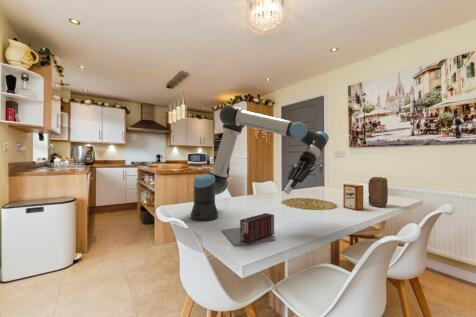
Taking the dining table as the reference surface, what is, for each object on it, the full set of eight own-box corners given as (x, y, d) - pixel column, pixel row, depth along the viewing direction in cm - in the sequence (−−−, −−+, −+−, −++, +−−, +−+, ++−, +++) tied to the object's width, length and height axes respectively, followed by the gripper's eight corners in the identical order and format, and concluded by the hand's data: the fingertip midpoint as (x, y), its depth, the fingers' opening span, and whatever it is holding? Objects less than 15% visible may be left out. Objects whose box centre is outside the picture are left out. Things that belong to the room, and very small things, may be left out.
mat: (221, 231, 98) (221, 229, 98) (255, 227, 104) (255, 225, 104) (234, 246, 81) (234, 244, 81) (274, 240, 87) (274, 239, 87)
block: (388, 207, 146) (389, 177, 146) (380, 208, 143) (381, 178, 143) (374, 204, 156) (374, 176, 156) (366, 204, 154) (366, 176, 153)
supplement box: (265, 212, 96) (239, 219, 85) (274, 214, 92) (248, 221, 82) (266, 232, 96) (239, 241, 85) (274, 234, 92) (248, 244, 82)
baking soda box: (343, 207, 145) (343, 183, 145) (349, 206, 148) (349, 183, 148) (356, 210, 136) (356, 185, 136) (363, 209, 139) (363, 184, 139)
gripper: (324, 161, 105) (301, 199, 96) (302, 161, 116) (280, 195, 106) (317, 150, 102) (293, 188, 93) (296, 150, 113) (272, 185, 103)
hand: (286, 192), depth 100 cm, fingers closed
